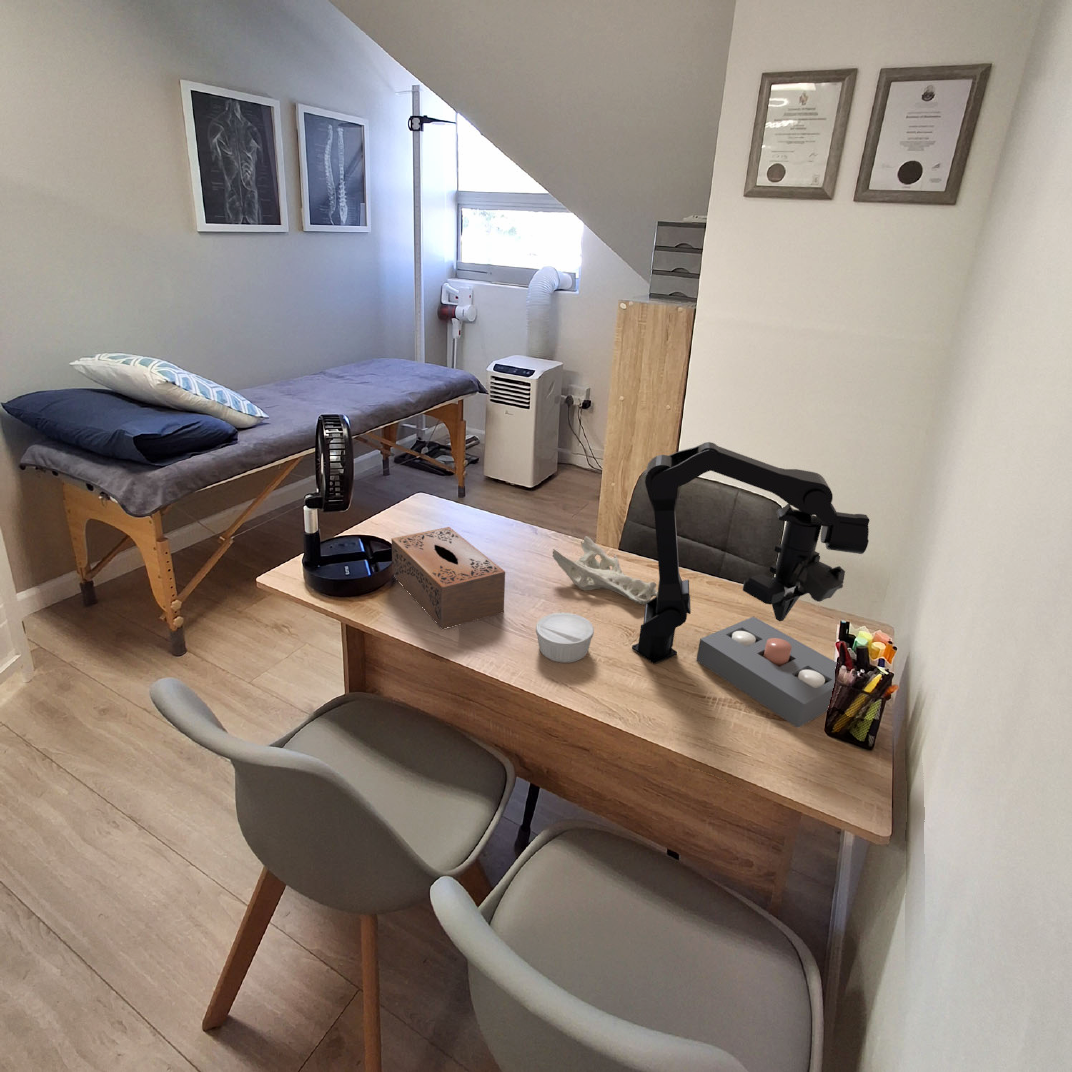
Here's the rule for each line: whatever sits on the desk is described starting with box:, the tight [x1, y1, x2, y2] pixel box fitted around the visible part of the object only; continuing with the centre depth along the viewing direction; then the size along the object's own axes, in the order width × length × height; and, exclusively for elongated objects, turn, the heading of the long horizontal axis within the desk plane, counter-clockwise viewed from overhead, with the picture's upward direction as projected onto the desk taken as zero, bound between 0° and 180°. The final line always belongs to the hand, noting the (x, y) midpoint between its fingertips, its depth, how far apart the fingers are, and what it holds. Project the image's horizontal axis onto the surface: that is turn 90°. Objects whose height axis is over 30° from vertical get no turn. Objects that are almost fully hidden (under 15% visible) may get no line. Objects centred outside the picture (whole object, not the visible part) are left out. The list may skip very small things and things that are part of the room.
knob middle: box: [762, 638, 792, 667], centre depth 126 cm, size 4×4×4 cm
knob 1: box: [732, 631, 756, 647], centre depth 132 cm, size 4×4×4 cm
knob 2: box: [797, 670, 825, 689], centre depth 121 cm, size 4×4×4 cm
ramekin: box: [535, 612, 595, 664], centre depth 132 cm, size 11×11×5 cm
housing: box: [696, 616, 838, 729], centre depth 127 cm, size 16×23×5 cm
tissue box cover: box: [391, 526, 506, 630], centre depth 149 cm, size 26×14×10 cm, turn 33°
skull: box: [552, 535, 658, 606], centre depth 155 cm, size 12×8×25 cm
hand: (779, 620), depth 126 cm, fingers closed
